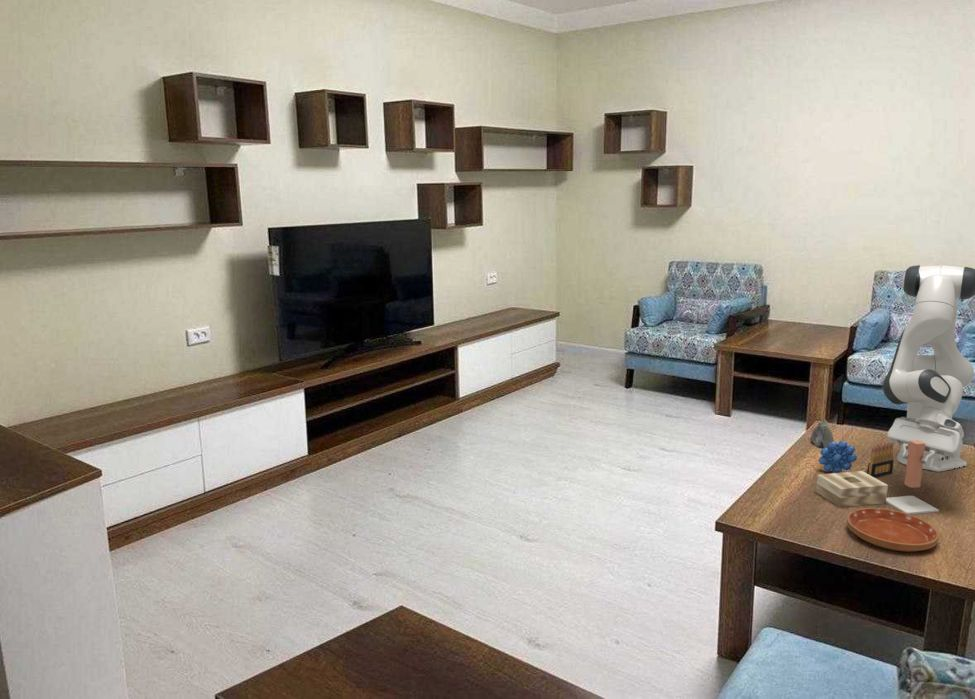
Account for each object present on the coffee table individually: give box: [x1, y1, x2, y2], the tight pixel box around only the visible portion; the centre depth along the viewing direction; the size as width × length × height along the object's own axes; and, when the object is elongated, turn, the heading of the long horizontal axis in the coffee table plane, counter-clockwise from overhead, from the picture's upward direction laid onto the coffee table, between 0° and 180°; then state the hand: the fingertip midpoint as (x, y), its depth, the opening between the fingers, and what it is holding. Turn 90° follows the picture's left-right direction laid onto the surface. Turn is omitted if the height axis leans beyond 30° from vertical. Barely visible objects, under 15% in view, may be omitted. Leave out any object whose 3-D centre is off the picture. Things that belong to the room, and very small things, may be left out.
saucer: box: [846, 507, 940, 553], centre depth 214 cm, size 23×23×4 cm
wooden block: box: [904, 440, 925, 489], centre depth 231 cm, size 3×3×14 cm
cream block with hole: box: [815, 470, 889, 508], centre depth 240 cm, size 17×12×6 cm
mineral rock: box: [810, 419, 835, 449], centre depth 289 cm, size 13×11×10 cm
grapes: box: [818, 440, 858, 473], centre depth 260 cm, size 12×7×12 cm, turn 63°
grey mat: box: [885, 495, 940, 515], centre depth 234 cm, size 11×11×1 cm
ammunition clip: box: [866, 440, 895, 479], centre depth 258 cm, size 11×2×12 cm, turn 116°
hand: (914, 460), depth 231 cm, fingers closed on wooden block, 4 cm apart
